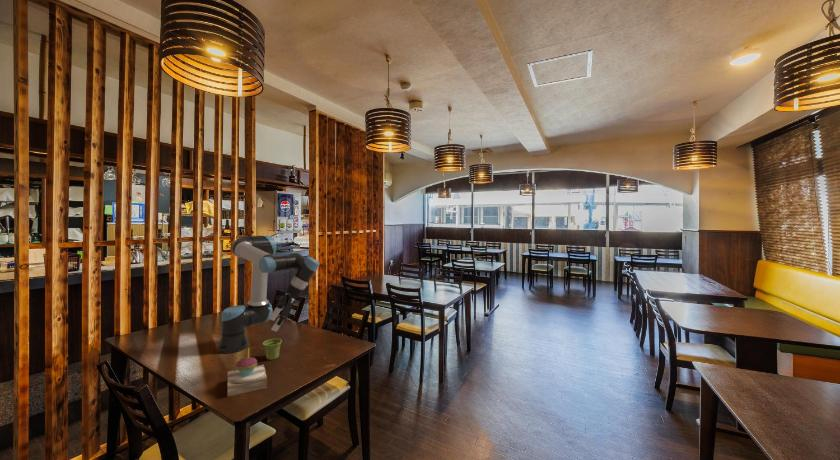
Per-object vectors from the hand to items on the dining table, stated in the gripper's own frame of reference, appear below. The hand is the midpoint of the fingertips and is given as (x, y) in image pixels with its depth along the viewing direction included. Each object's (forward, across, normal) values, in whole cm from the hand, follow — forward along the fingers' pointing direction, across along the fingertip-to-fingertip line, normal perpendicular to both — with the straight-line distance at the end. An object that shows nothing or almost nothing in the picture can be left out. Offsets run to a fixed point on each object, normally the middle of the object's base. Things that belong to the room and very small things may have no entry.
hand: (272, 325), depth 154 cm
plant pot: (+21, +16, -14) cm, 30 cm away
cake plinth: (+25, -8, -2) cm, 27 cm away
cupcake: (+21, -9, 0) cm, 23 cm away
